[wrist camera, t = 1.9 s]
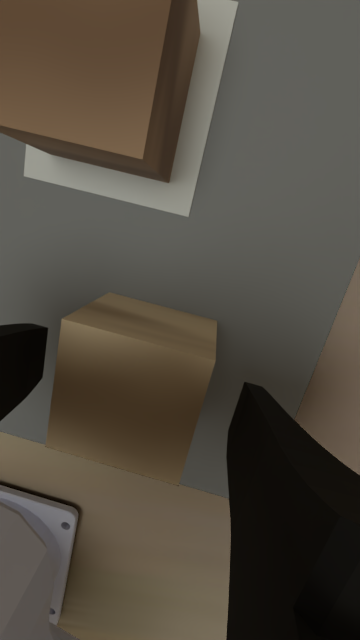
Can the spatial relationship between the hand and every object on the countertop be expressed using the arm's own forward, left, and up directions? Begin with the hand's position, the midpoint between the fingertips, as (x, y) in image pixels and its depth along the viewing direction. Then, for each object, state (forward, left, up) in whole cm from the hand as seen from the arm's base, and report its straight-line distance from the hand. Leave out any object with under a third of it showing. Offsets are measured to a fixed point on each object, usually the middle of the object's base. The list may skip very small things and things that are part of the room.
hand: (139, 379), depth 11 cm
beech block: (0, 0, -2) cm, 2 cm away
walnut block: (+9, +3, -2) cm, 10 cm away
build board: (+4, +1, -3) cm, 5 cm away
